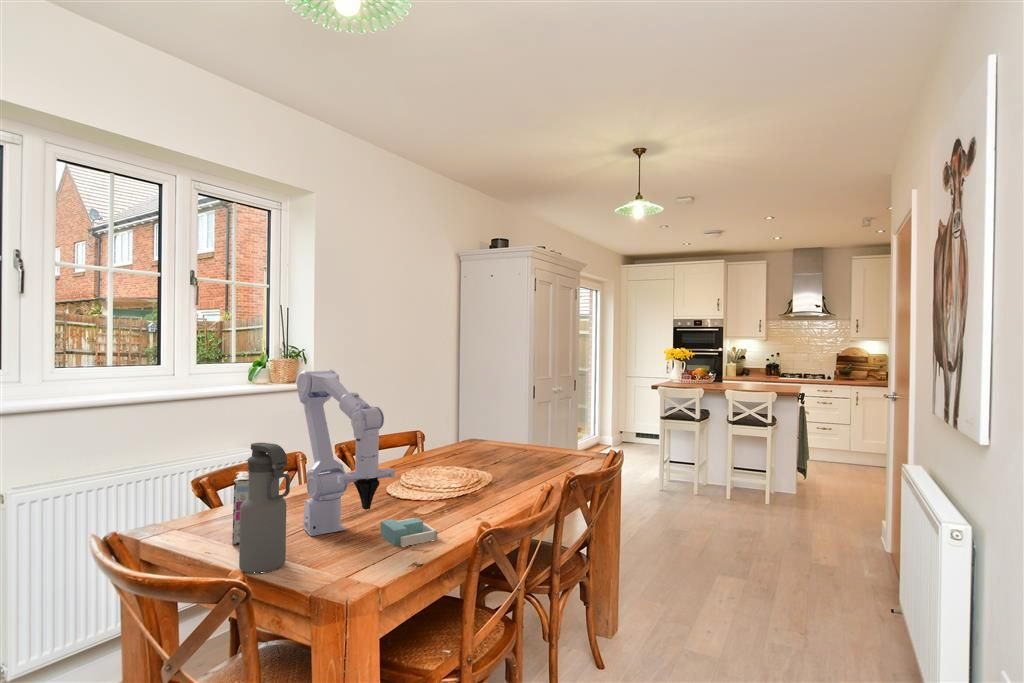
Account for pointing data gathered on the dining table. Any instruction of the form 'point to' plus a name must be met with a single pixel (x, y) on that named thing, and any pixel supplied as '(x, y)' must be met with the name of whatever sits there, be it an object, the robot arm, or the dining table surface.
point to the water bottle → (264, 511)
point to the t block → (400, 529)
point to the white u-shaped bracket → (419, 536)
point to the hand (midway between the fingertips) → (366, 508)
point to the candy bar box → (239, 502)
